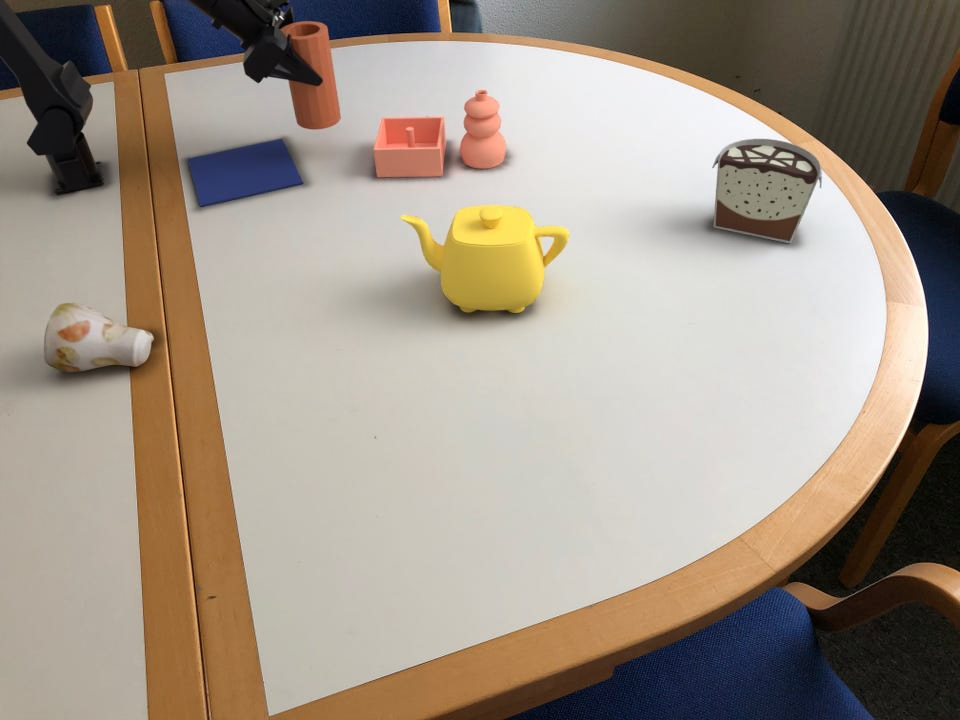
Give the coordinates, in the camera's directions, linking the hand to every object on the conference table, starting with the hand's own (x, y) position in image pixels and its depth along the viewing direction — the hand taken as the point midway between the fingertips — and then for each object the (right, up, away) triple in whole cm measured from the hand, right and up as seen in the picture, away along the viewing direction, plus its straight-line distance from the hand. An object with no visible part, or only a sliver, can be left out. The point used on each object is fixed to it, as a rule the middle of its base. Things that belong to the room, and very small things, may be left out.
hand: (320, 73), depth 108 cm
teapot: (+23, -31, -17) cm, 42 cm away
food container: (+56, -22, -9) cm, 61 cm away
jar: (-1, -5, +4) cm, 7 cm away
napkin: (-12, -12, +5) cm, 18 cm away
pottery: (+16, -10, +6) cm, 20 cm away
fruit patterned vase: (-18, -39, -23) cm, 49 cm away
